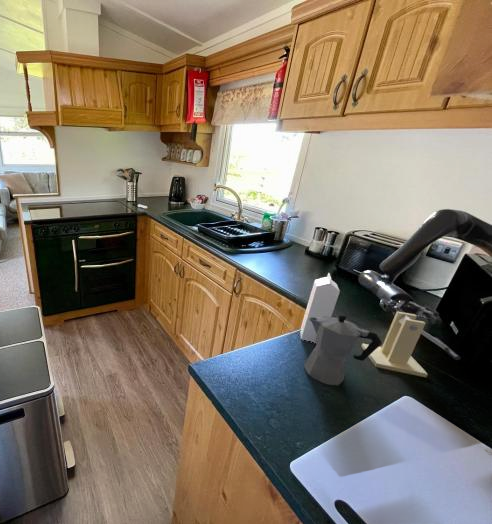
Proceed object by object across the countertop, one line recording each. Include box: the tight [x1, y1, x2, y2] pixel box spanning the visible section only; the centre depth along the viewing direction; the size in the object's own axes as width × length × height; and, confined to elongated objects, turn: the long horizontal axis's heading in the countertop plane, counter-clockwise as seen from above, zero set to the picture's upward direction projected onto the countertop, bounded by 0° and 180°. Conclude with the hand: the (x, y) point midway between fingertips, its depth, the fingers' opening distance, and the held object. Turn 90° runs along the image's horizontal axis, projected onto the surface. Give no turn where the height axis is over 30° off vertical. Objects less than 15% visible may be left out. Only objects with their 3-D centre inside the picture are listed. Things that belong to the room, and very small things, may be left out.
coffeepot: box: [303, 313, 382, 386], centre depth 74 cm, size 15×9×18 cm, turn 58°
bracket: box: [361, 312, 429, 378], centre depth 82 cm, size 12×10×15 cm
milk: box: [299, 272, 341, 344], centre depth 90 cm, size 6×6×22 cm
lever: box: [399, 315, 461, 361], centre depth 80 cm, size 14×9×2 cm, turn 72°
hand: (420, 319), depth 91 cm, fingers open, 8 cm apart
